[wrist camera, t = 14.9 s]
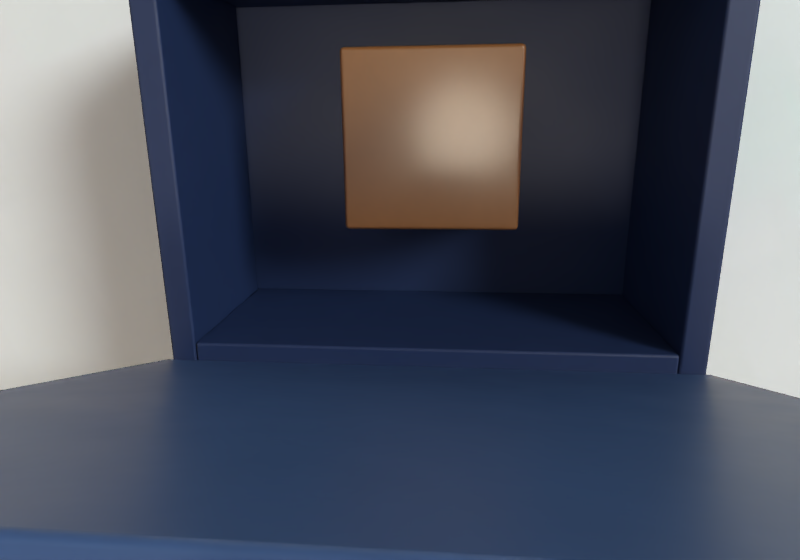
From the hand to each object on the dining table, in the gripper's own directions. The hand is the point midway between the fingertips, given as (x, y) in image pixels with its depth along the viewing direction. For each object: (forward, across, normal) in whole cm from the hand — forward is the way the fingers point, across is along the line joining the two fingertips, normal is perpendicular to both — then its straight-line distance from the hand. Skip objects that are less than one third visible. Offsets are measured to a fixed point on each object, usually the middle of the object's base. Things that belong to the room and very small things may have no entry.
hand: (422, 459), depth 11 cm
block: (+7, 0, -6) cm, 9 cm away
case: (+8, 0, -5) cm, 9 cm away
